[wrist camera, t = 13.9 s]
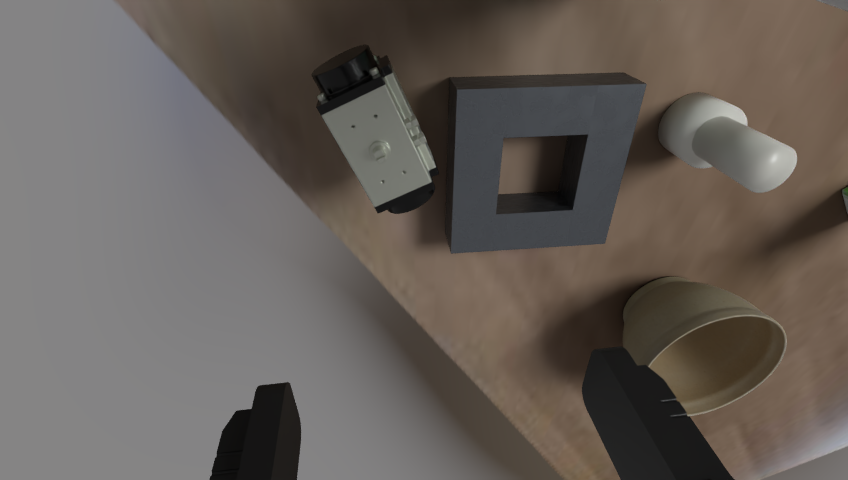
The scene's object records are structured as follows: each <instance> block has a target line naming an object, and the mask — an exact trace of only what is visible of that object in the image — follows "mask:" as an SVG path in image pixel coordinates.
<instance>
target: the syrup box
mask: <svg viewBox="0 0 848 480" xmlns="http://www.w3.org/2000/svg"><path fill="white" fill-rule="evenodd" d="M842 194H843V198H844V202H845V206H846V210H847V213H848V187H846V188H845V189H843V190H842Z"/></svg>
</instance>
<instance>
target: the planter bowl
mask: <svg viewBox="0 0 848 480" xmlns="http://www.w3.org/2000/svg"><path fill="white" fill-rule="evenodd" d="M623 321H624V329H623V347H624V348H625V349H626V350H627V351H628V352H629V354H630V355H631V357H632V358H633V360H634V361H635V363H636V364H637V366H639V365H647V366H648V367H649V368H650V369H652V370H653V371H654V372H655V373H657V374H658V375H659V376H660V377H661V378H663V379H664V380H665V382H666V383H667V385H668V386H669V387H670V389H671V390H672V392H673V393H674V395H675V396H676V399H677V401H679V402H680V403H681V405H682V406H683V408H684V409H685V411H686V412H687V416H693V415H698V414H703V413H707V412H710V411H713V410H716V409H718V408H721V407H723V406H726V405H728V404H730V403H732V402H734V401H736V400H738V399H740V398H741V397H743V396H745V395H746V394H748V393H749V392H751V391H752V390H754V389H755V388H756V387H758V386H759V385H760V384H761V383H763V382H764V381H765V380H766V379H767V378H768V377H769V376H770V375H771V374H772V373H773V371H774V370H775V369H776V368H777V366H778V365H779V363H780V362H781V360H782V358H783V355H784V353H785V350H786V344H787V338H786V334H785V331H784V329H783V328H782V326H781V325H780V324H779V323H778V322H776V321H775V320H774V319H773V318H771V317H770V316H768V315H766V314H764V313H762V312H761V311H760V310H759V309H758V308H756V307H755V306H754V305H752V304H751V303H749V302H748V301H746V300H745V299H743V298H741V297H739V296H737V295H736V294H733V293H731V292H729V291H727V290H724V289H721V288H719V287H715V286H712V285H708V284H703V283H697V282H691V281H689V280H687V279H685V278H682V277H665V278H660V279H657V280H655V281H652V282H650V283H648V284H646V285H645V286H643V287H642V288H640V289H639V290H638V291H636V292H635V293H634V294H633V295H632V296H631V298H630V299H629V300H628V302H627V303H626V305H625V308H624V311H623Z"/></svg>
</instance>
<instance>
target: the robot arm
mask: <svg viewBox="0 0 848 480" xmlns="http://www.w3.org/2000/svg"><path fill="white" fill-rule="evenodd" d="M582 394H583V400H584V403H585V406H586V409H587V411H588V413H589V415H590V417H591V419H592V421H593V423H594V425H595V427H596V429H597V431H598V433H599V436H600V438H601V440H602V442H603V444H604V446H605V448H606V450H607V452H608V454H609V456H610V458H611V460H612V462H613V464H614V466H615V468H616V470H617V472H618V475H619V477H620V479H621V480H734V479H733V478H732V476H731V475H730V474H729V473H728V471H727V470H726V468H725V467H724V465H723V464H722V463H721V461H720V460H719V458H718V457H717V455H716V454H715V452H714V451H713V450H712V448H711V447H710V445H709V444H708V442H707V441H706V439H705V438H704V437H703V435H702V434H701V432H700V431H699V429H698V428H697V426H696V425H695V424H694V422H693V421H692V419H691V418H690V416H689V417H688V416H687V412H686V411H685V409H684V408H683V406H682V405H681V403H680V402H679V401H677V399H676V396H675V395H674V393H673V392H672V390H671V389H670V387H669V386H668V385H667V383H666V382H665V380H664V379H663V378H661V377H660V376H659V375H658V374H657V373H655V372H654V371H653V370H652V369H650V368H649V367H648V366H647V365H639V366H637V364H636V363H635V361H634V360H633V358H632V357H631V355H630V354H629V352H628V351H627V350H626V349H625V348H624V347H613V348H604V349H595V350H593V351H592V353H591V357H590V360H589V364H588V367H587V371H586V374H585V378H584V381H583V385H582ZM300 424H301V423H300V417H299V413H298V410H297V406H296V403H295V399H294V396H293V392H292V389H291V385H290V383H288V382H287V383H278V384H269V385H260V386H258V387H257V389H256V392H255V397H254V401H253V406H252V409H247V410H239V411H236V412H235V414H234V415H233V416H232V418H231V419H230V421H229V422H228V424H227V425H226V427H225V428H224V429H223V431H222V435H221V438H220V442H219V446H218V450H217V457H216V458H215V461H214V465H213V469H212V476H211V477H210V480H297V472H298V463H299V454H300V444H301V425H300Z"/></svg>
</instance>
